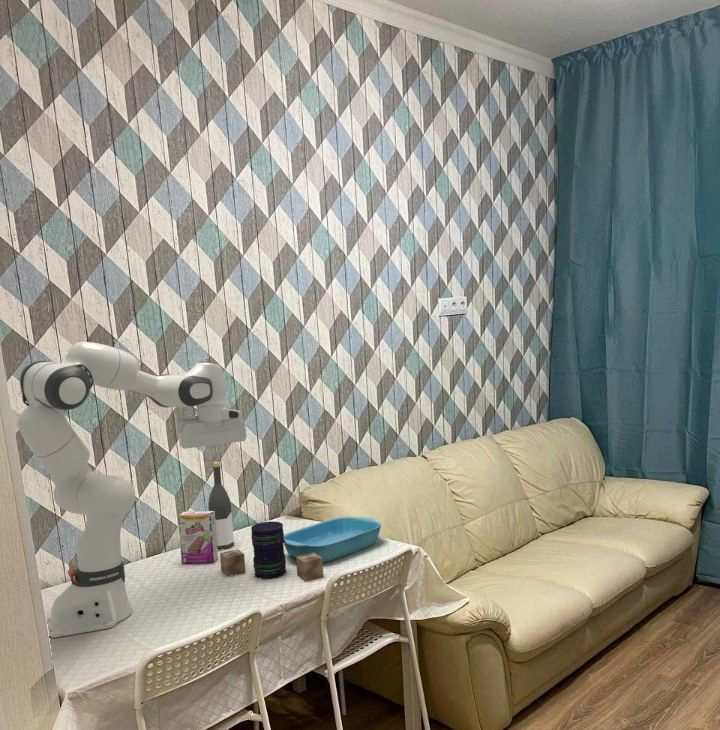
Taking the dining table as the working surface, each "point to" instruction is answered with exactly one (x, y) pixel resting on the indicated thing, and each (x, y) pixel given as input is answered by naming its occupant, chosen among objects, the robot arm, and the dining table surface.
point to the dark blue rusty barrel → (268, 550)
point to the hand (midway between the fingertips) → (214, 459)
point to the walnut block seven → (232, 562)
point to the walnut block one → (309, 566)
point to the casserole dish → (333, 537)
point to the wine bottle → (221, 511)
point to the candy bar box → (198, 537)
